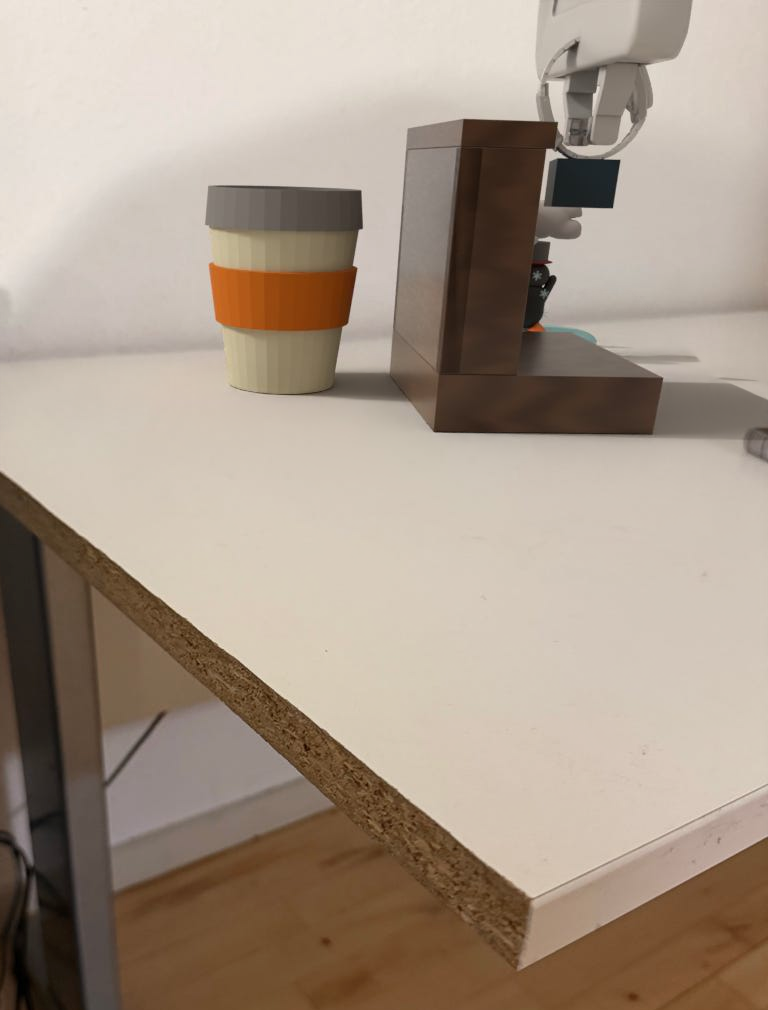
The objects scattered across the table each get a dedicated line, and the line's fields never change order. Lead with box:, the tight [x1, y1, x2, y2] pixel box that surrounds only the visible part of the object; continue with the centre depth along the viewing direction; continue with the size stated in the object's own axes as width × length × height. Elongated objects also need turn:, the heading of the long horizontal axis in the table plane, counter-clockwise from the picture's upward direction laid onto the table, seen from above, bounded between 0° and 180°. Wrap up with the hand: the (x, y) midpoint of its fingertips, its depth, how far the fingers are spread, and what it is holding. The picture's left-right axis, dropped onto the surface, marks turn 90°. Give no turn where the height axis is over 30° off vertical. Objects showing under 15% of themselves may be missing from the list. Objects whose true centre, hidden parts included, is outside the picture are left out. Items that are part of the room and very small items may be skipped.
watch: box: [535, 35, 654, 209], centre depth 68 cm, size 6×8×11 cm
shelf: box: [389, 118, 664, 435], centre depth 72 cm, size 16×20×20 cm
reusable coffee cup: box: [204, 184, 364, 395], centre depth 78 cm, size 12×13×15 cm
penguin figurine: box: [523, 199, 598, 345], centre depth 94 cm, size 20×11×15 cm, turn 78°
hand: (587, 145), depth 69 cm, fingers closed on watch, 4 cm apart
